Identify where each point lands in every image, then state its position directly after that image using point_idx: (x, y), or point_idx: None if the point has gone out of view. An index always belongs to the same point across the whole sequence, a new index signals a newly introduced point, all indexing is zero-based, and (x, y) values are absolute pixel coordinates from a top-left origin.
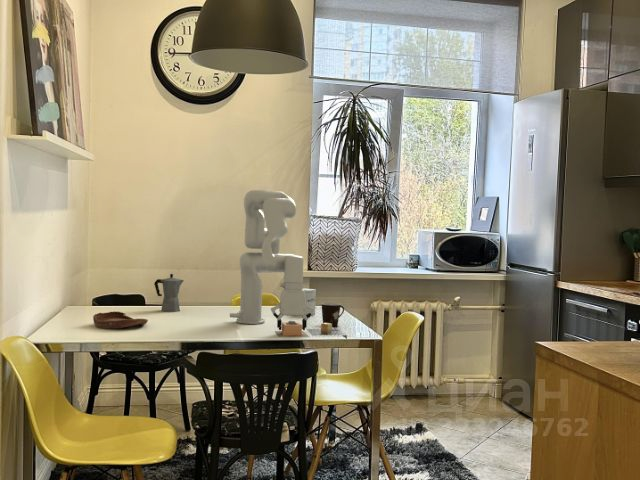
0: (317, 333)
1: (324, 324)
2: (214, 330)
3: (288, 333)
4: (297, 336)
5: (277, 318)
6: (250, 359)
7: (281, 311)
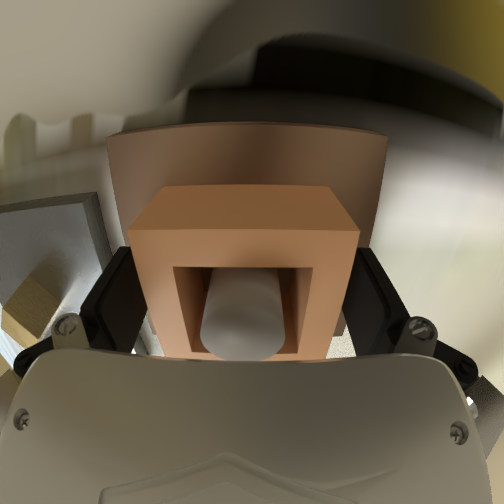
0: (65, 265)
1: (20, 322)
2: (485, 354)
3: (289, 192)
4: (206, 129)
5: (434, 329)
6: None
7: (464, 394)
